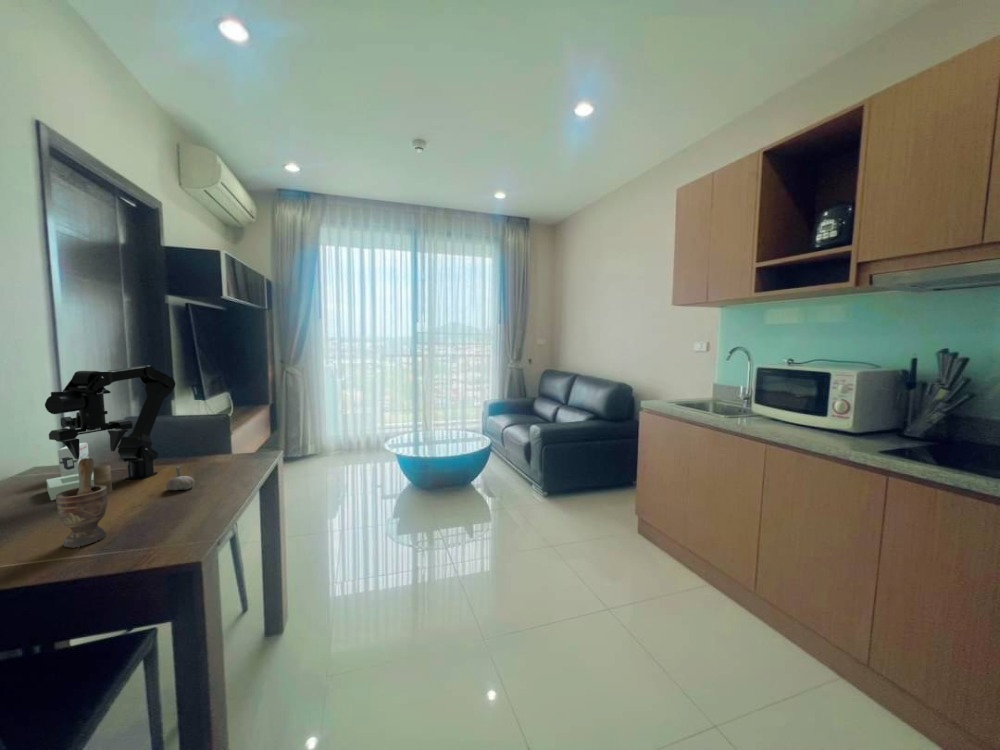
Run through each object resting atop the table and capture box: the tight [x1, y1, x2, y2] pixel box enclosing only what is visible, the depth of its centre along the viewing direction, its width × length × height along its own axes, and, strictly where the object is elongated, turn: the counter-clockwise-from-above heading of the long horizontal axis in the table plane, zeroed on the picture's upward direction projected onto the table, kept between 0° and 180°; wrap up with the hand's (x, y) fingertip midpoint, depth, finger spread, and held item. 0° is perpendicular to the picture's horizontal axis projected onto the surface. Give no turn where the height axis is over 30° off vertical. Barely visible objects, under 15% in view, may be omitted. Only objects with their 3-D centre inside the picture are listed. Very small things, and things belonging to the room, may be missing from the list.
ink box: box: [57, 442, 90, 477], centre depth 140 cm, size 8×5×12 cm, turn 28°
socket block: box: [46, 473, 94, 501], centre depth 128 cm, size 12×12×4 cm
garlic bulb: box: [166, 466, 196, 491], centre depth 130 cm, size 8×7×8 cm
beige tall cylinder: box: [93, 464, 113, 495], centre depth 125 cm, size 4×4×9 cm
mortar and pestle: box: [55, 457, 108, 549], centre depth 96 cm, size 12×9×20 cm
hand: (95, 454), depth 125 cm, fingers open, 9 cm apart
